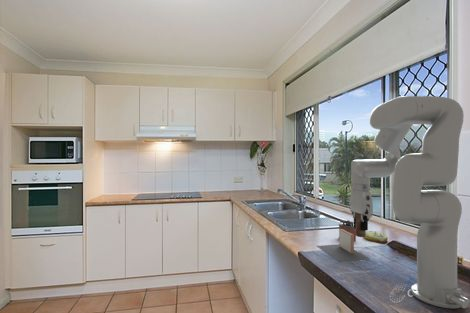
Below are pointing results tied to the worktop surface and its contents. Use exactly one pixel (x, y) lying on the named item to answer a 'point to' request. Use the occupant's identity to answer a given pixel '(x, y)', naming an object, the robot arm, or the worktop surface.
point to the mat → (342, 253)
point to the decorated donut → (376, 236)
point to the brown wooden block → (358, 231)
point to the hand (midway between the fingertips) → (360, 228)
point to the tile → (346, 241)
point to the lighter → (348, 227)
